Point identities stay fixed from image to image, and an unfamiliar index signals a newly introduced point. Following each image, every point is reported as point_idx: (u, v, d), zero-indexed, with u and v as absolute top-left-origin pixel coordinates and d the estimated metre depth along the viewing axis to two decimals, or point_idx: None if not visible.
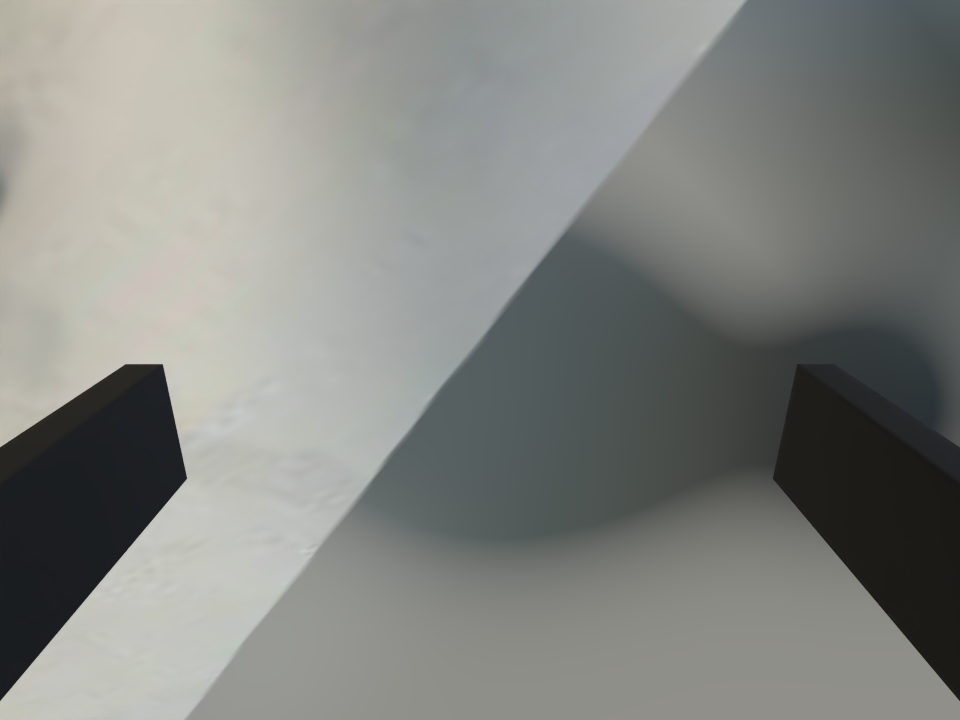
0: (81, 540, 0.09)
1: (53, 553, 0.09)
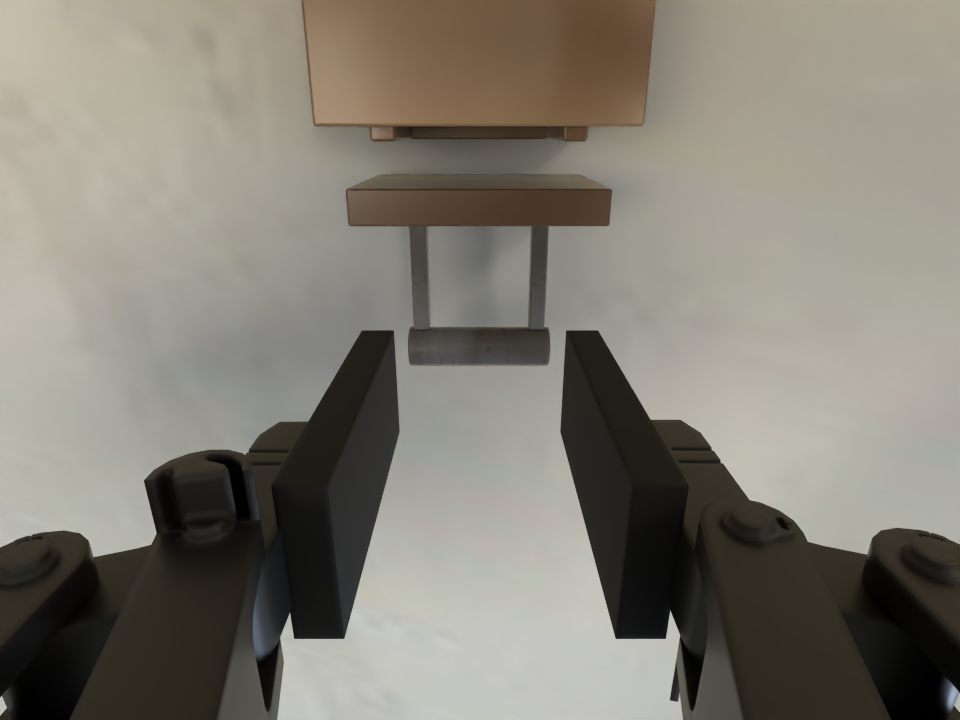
0: (374, 468, 0.11)
1: (369, 475, 0.11)
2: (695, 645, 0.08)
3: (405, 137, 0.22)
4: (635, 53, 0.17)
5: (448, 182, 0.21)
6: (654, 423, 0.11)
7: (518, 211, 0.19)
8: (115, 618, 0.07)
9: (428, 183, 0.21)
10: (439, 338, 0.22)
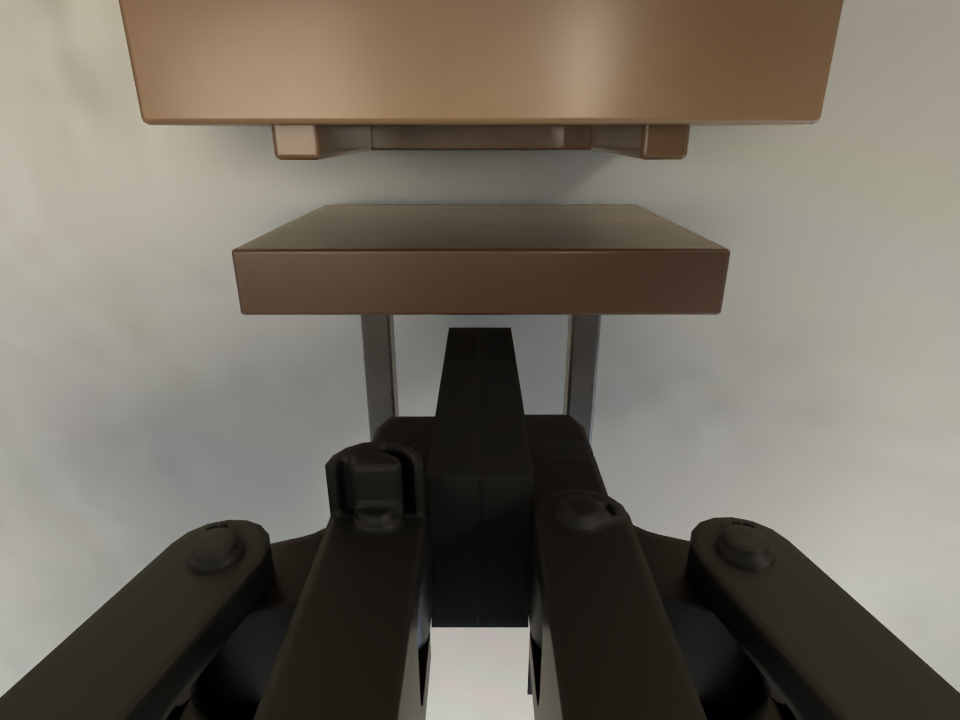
0: None
1: None
2: (542, 638, 0.08)
3: (355, 149, 0.13)
4: None
5: (428, 226, 0.13)
6: (543, 417, 0.11)
7: (553, 288, 0.10)
8: None
9: (393, 229, 0.12)
10: None
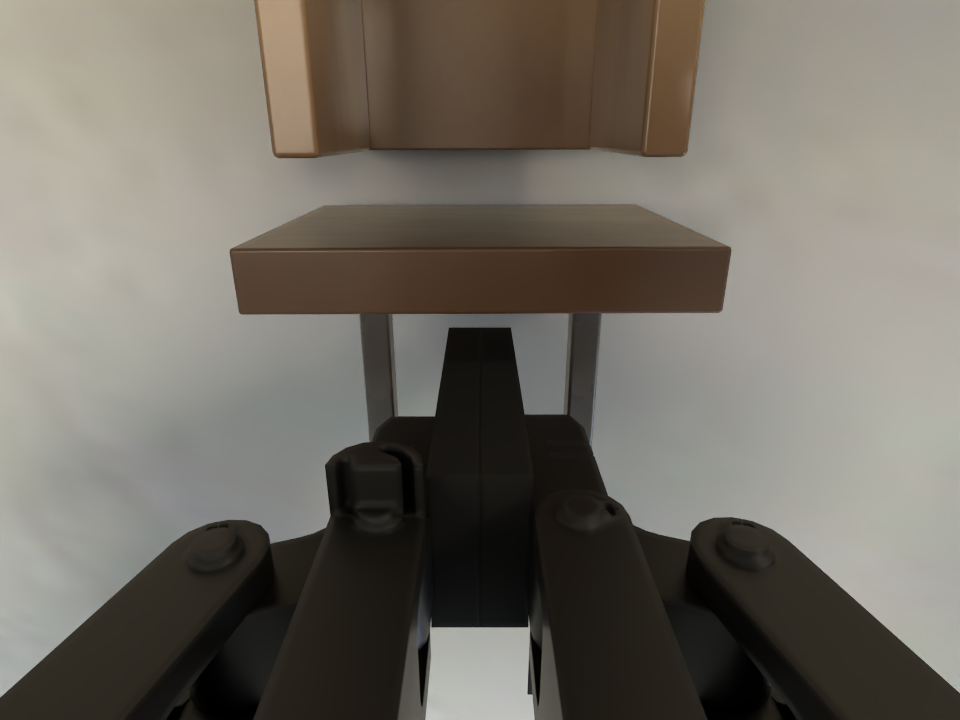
0: None
1: None
2: (542, 638, 0.08)
3: (353, 149, 0.13)
4: None
5: (427, 226, 0.12)
6: (543, 417, 0.11)
7: (553, 287, 0.10)
8: None
9: (391, 229, 0.12)
10: None
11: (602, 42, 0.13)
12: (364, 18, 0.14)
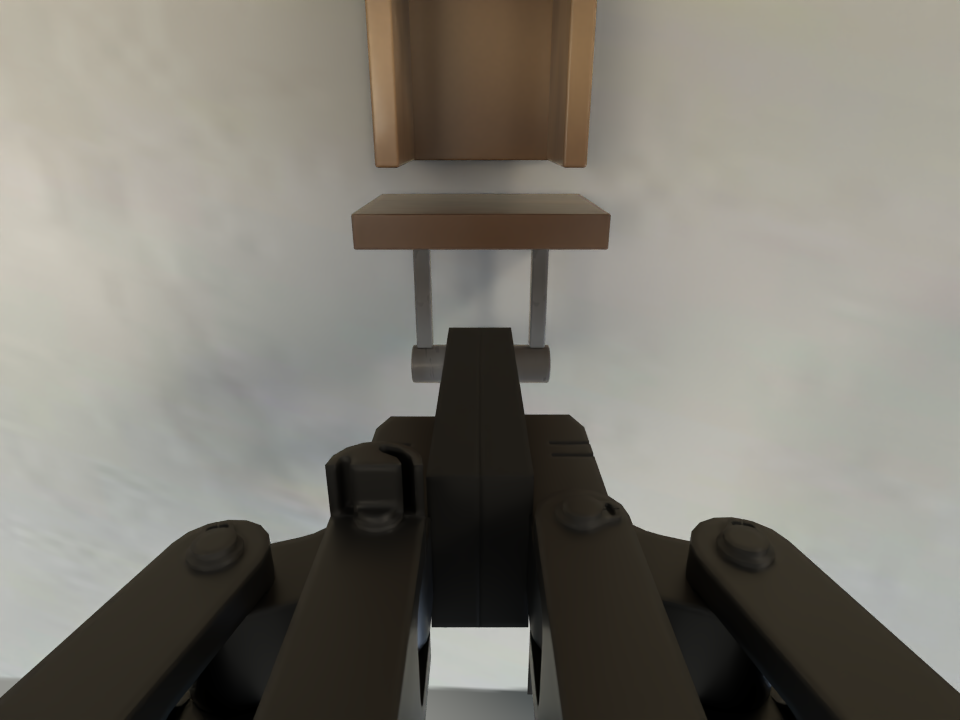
0: None
1: None
2: (542, 638, 0.08)
3: (409, 160, 0.22)
4: None
5: (451, 204, 0.22)
6: (543, 417, 0.11)
7: (518, 235, 0.20)
8: None
9: (431, 206, 0.22)
10: (442, 356, 0.23)
11: (551, 99, 0.22)
12: (413, 82, 0.23)
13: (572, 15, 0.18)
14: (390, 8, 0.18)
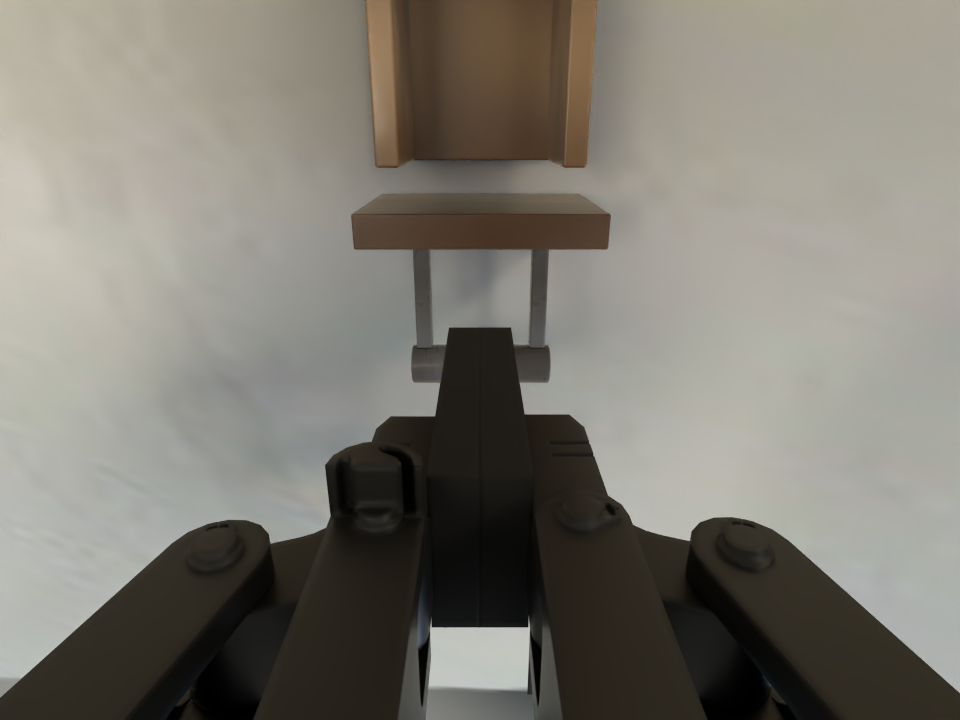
0: None
1: None
2: (542, 638, 0.08)
3: (408, 160, 0.22)
4: None
5: (451, 204, 0.22)
6: (543, 417, 0.11)
7: (518, 235, 0.20)
8: None
9: (431, 206, 0.22)
10: (442, 356, 0.23)
11: (551, 99, 0.22)
12: (413, 82, 0.23)
13: (572, 15, 0.18)
14: (390, 8, 0.18)
